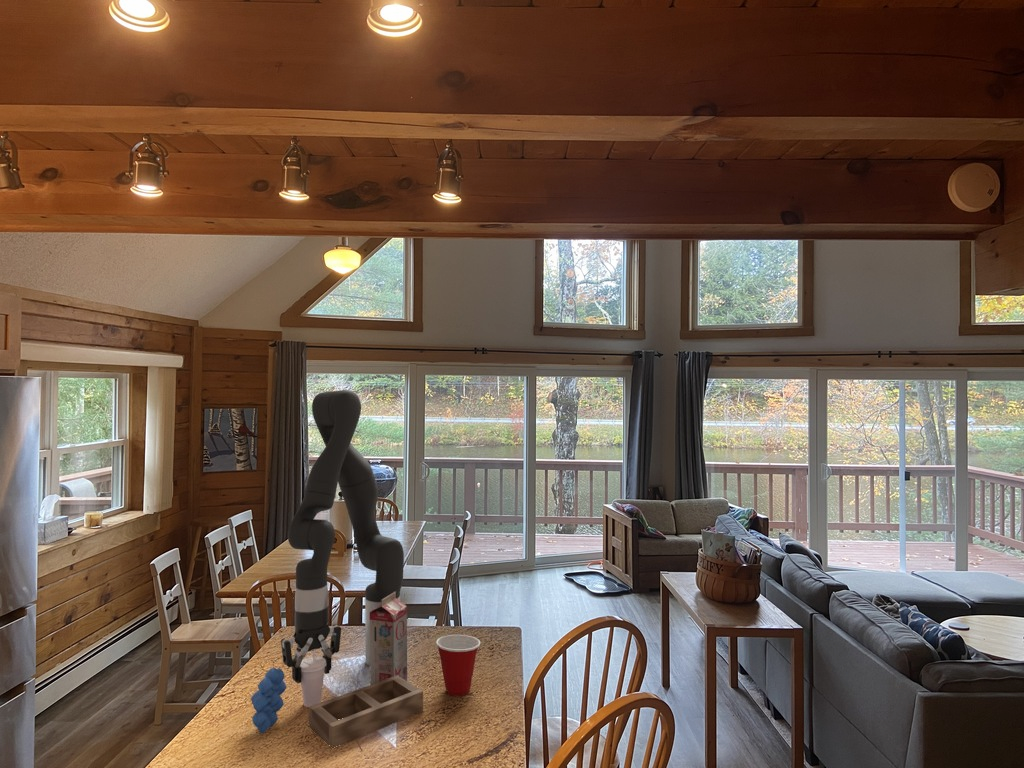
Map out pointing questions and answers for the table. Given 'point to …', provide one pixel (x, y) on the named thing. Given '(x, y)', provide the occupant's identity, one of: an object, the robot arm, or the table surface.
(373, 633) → the juice carton
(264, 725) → the grapes
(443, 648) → the plastic cup
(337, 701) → the slot rack
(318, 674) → the smoothie
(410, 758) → the table surface
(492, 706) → the table surface
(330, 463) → the robot arm
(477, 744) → the table surface
